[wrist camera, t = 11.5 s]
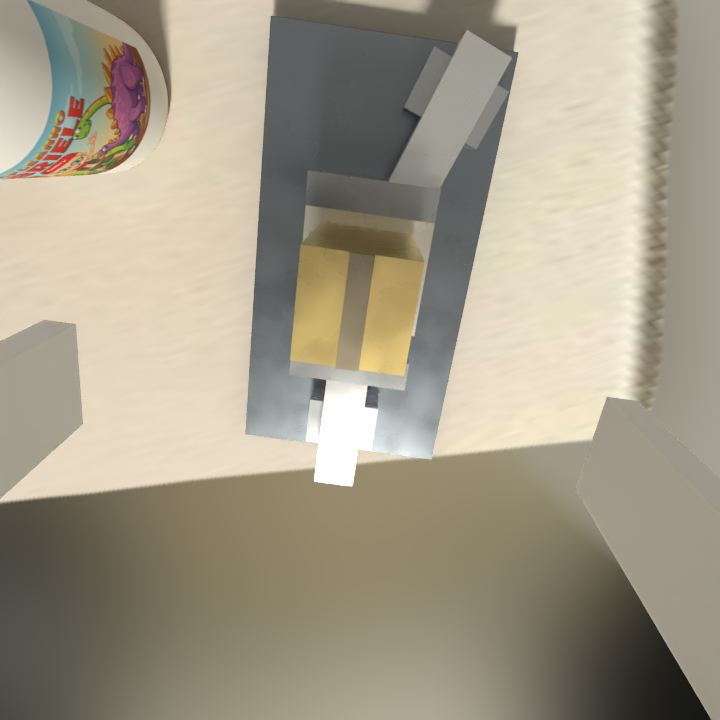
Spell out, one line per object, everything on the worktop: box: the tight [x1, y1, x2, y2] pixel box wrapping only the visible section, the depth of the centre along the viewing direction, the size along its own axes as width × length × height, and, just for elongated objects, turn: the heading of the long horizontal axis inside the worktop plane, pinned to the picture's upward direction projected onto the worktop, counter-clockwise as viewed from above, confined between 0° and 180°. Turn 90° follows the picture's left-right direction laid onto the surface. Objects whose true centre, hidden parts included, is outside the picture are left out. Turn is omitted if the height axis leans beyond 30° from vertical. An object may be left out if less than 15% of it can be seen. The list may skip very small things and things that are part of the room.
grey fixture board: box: [246, 16, 518, 486], centre depth 28 cm, size 12×23×6 cm, turn 172°
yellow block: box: [290, 222, 425, 376], centre depth 25 cm, size 5×5×8 cm
